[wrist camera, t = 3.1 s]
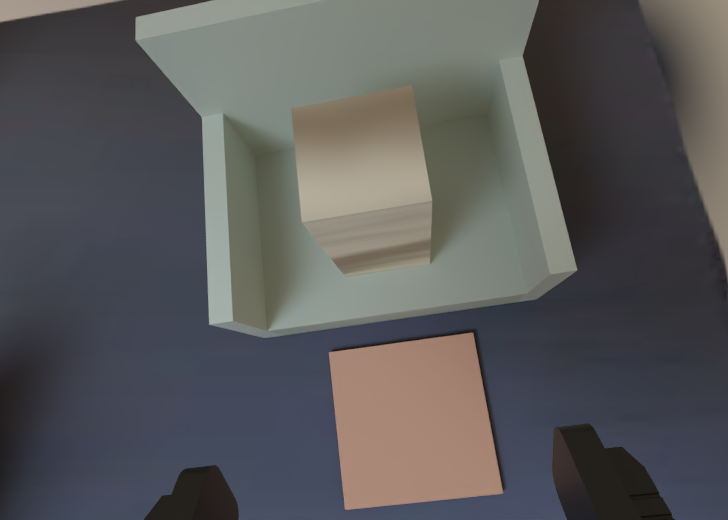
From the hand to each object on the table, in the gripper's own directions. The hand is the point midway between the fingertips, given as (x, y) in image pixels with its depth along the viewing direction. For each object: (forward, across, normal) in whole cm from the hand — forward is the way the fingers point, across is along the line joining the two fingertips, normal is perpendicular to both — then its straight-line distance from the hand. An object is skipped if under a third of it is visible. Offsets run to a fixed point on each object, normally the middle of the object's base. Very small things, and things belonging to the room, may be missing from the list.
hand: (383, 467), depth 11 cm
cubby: (+21, 0, +4) cm, 21 cm away
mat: (+12, 0, +12) cm, 17 cm away
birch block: (+18, 0, +3) cm, 18 cm away
